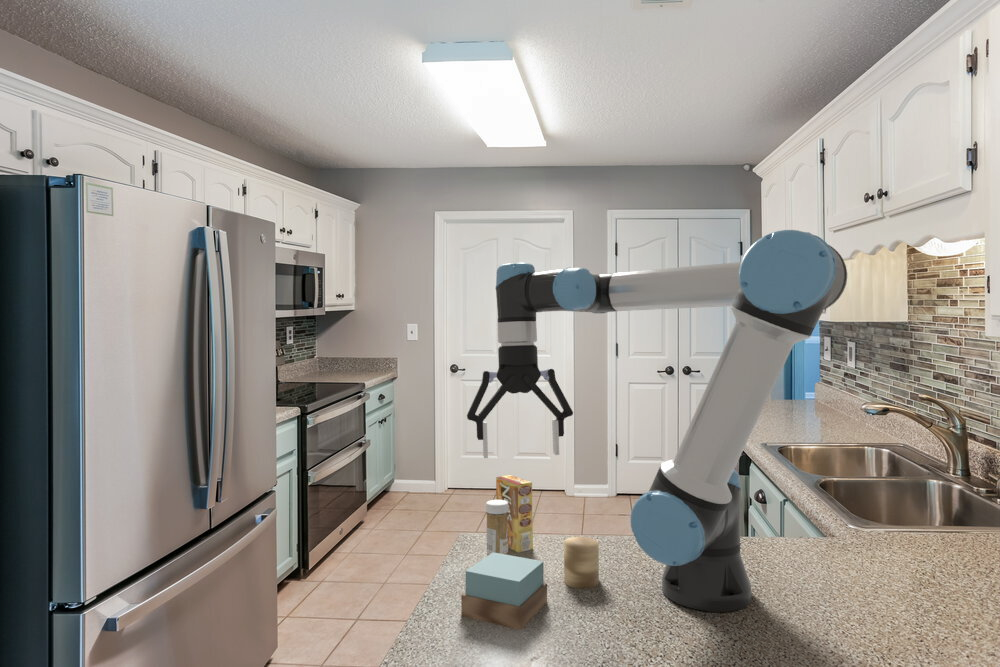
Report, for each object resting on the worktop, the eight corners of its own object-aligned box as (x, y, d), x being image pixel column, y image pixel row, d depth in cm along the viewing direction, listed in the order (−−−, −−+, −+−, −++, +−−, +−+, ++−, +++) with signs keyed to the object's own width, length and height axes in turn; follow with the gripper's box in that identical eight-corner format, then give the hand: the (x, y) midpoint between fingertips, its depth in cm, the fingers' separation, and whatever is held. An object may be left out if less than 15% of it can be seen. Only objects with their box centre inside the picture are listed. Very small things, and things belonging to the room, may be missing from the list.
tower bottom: (547, 605, 108) (547, 583, 108) (520, 632, 99) (520, 607, 99) (491, 593, 113) (491, 572, 113) (461, 618, 104) (461, 594, 104)
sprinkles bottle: (510, 571, 123) (510, 504, 123) (488, 573, 122) (488, 505, 122) (505, 563, 128) (505, 498, 128) (484, 564, 127) (483, 499, 127)
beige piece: (603, 581, 118) (603, 539, 118) (592, 594, 112) (592, 550, 112) (571, 575, 121) (571, 534, 121) (559, 587, 115) (558, 544, 115)
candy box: (533, 552, 134) (533, 481, 134) (518, 556, 132) (517, 484, 132) (511, 540, 141) (510, 474, 141) (495, 544, 139) (495, 476, 139)
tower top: (543, 584, 108) (543, 561, 108) (519, 606, 99) (519, 581, 99) (493, 574, 113) (493, 552, 113) (465, 594, 104) (465, 571, 104)
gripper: (577, 342, 123) (581, 449, 122) (452, 346, 121) (455, 454, 121) (585, 342, 115) (589, 455, 115) (452, 346, 114) (455, 461, 113)
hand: (521, 455), depth 118 cm, fingers open, 13 cm apart
